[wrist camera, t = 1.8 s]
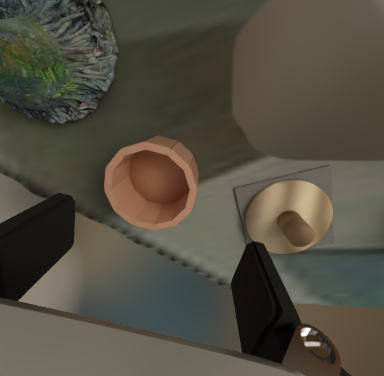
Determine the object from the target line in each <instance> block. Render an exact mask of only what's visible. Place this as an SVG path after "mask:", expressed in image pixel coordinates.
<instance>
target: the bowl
mask: <svg viewBox="0 0 384 376" xmlns="http://www.w3.org/2000/svg"><path fill="white" fill-rule="evenodd" d="M198 176H199V173H198V169H197V166H196V162H195V159H194V156H193V154H192V153H191V152H190V151H189V150H188V149H187V148H186V147H185V146H184V145H183V144H182V143H181V142H180V141H179V142H178V140H174V139H171V138H167V137H163V136H155V137H152V138H148V139H145V140H142V141H139V142H136V143H134V144H131V145H129V146H126V147H124V148H122V149H120V150H119V151H118V153H117V154H116V155H115V156H114V158H113V159H112V160H111V161H110V163H109V164H108V165H107V166H106V171H105V183H104V189H105V190H104V191H105V193H106V195H107V197H108V199H109V202H110V204H111V206H112V208H113V210H115V212H116V213H117V214H119V215H120V216H121V217H122V218H124V219H125V220H126V221H127V222H129V223H130V224H131V225H132V224H133V226H138V227H142V228H146V229H150V230H159V229H163V228H168V227H172V226H175V225H177V224H178V223H179V222H180V221H181V220H183V219H184V218H185V217H186V216H187V215H188V214H189V213H190V212H191V211H192V208H193V204H194V200H195V197H196V193H197V187H198Z"/></svg>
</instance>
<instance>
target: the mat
mask: <svg viewBox="0 0 384 376" xmlns="http://www.w3.org/2000/svg"><path fill="white" fill-rule="evenodd" d="M285 179H300V180H305V181H308V182H310V183H312V184H314V185H316V186H317V187H319V188H320V189H322V190H323V191H324V192H325V193H326V194H327V196H328V197H329V199H330V201H331V180H330V166H329V165H327V166H323V167H319V168H314V169H310V170H306V171H302V172H298V173H294V174H290V175H285V176H281V177H277V178H273V179H269V180H265V181H261V182H257V183H252V184H248V185H244V186H240V187H236V188H234V189H235V193H236V198H237V202H238V206H239V211H240V215H241V220H242V224H243V228H244V233H245V237H246V242H247V244H248V243H251V242H252V241H253V240H252V239H251V238H250V236H249V234H248V231H247V228H246V224H245V214H246V210H247V207H248V205H249V203H250V201H251V200H252V198H253V197H254V196H255V195H256V194H257V193H258V192H259V191H260V190H261V189H263V188H264V187H266V186H268V185H269V184H272V183H274V182H277V181H280V180H285ZM331 204H332V203H331ZM332 243H333V225H332V221H331V224H330V227H329V229H328V230H327V232H326V233H325V235H324V236H323V237H322V238H321V239H320V240H319V241H318V242H317V243H315V244H314V245H312V246H311V247H316V246H321V245H327V244H332ZM309 248H310V247H309ZM268 253H269V255H272V254H277V253H272V252H269V251H268Z"/></svg>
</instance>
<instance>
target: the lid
mask: <svg viewBox="0 0 384 376" xmlns="http://www.w3.org/2000/svg"><path fill="white" fill-rule="evenodd" d="M332 217H333V209H332V204H331V201H330V199H329V197H328V196H327V194H326V193H325V192H324V191H323V190H322V189H320V188H319V187H317V186H316V185H314V184H312V183H310V182H308V181H305V180H300V179H285V180H280V181H277V182H274V183H272V184H269V185H268V186H266V187H264V188H263V189H261V190H260V191H259V192H258V193H257V194H256V195H255V196H254V197H253V198H252V200H251V201H250V203H249V205H248V207H247V210H246V214H245V224H246V228H247V231H248V234H249V236H250V238H251V239H252V240H253V241H256V242H260V243H263V244H264V245H265V247H266V249H267V251H269V252H272V253H277V254H289V253H295V252H299V251H302V250H305V249H307V248H309V247H311V246H312V245H314V244H315V243H317V242H318V241H319V240H320V239H321V238H322V237H323V236H324V235H325V233H326V232H327V230H328V229H329V227H330V224H331V221H332Z"/></svg>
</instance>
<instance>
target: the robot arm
mask: <svg viewBox="0 0 384 376" xmlns="http://www.w3.org/2000/svg"><path fill="white" fill-rule="evenodd" d="M74 225H75V200H74V199H73V198H72V196H70V195H66V194H62V193H58V194H56V195H54V196H52V197H50V198H48V199H46V200H44V201H42V202H41V203H39V204H37V205H35V206H33V207H31V208H29V209H27V210H25V211H23V212H21V213H19V214H17V215H16V216H14V217H12V218H10V219H8V220H6V221H4V222H2V223H1V224H0V376H351V375H350V374H348V373H347V372H346V371H345V370H344V369H343V368H342V367H341V358H340V355H339V353H338V350H337V349H336V348H335V346H334V344H333V343H332V342H331V341H330V339H329V338H328V337H327V336H326V335H325V334H324V333H323V332H321V331H320V330H318V329H317V328H315V327H314V326H311V325H309V324H302V323H301V321H300V319H299V317H298V314H297V311H296V309H295V307H294V305H293V303H292V301H291V299H290V297H289V295H288V293H287V291H286V288H285V286H284V284H283V282H282V280H281V278H280V276H279V274H278V272H277V270H276V268H275V266H274V264H273V261H272V259H271V257H270V255H269V253H268V251H267V249H266V247H265V245H264V244H263V243H260V242H256V241H252V242H251V243H248V244H247V246H246V248H245V250H244V253H243V255H242V257H241V260H240V262H239V264H238V267H237V269H236V271H235V274H234V276H233V278H232V282H231V288H232V294H233V300H234V306H235V312H236V318H237V324H238V330H239V336H240V342H241V348H242V353H241V352H237V351H233V350H229V349H225V348H221V347H217V346H213V345H209V344H204V343H200V342H196V341H192V340H187V339H183V338H179V337H175V336H170V335H166V334H162V333H157V332H153V331H148V330H144V329H140V328H135V327H131V326H127V325H122V324H118V323H113V322H109V321H104V320H100V319H96V318H91V317H87V316H82V315H78V314H73V313H68V312H64V311H60V310H55V309H50V308H46V307H41V306H37V305H33V304H28V303H23V302H19V301H18V300H19V299H20V298H21V297H22V296H23V295H24V294H25V293H26V292H27V291H28V290H29V289H30V288H31V287H32V286H33V285H34V284H35V283H36V282H37V281H38V280H39V279H40V278H41V277H42V276H43V275H44V274H45V273H46V272H47V271H48V270H49V269H50V268H51V267H52V266H53V265H54V264H55V263H56V262H57V261H59V259H61V257H62V256H64V255H65V253H67V252H68V250H70V249H71V247H72V246H73V243H74Z"/></svg>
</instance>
